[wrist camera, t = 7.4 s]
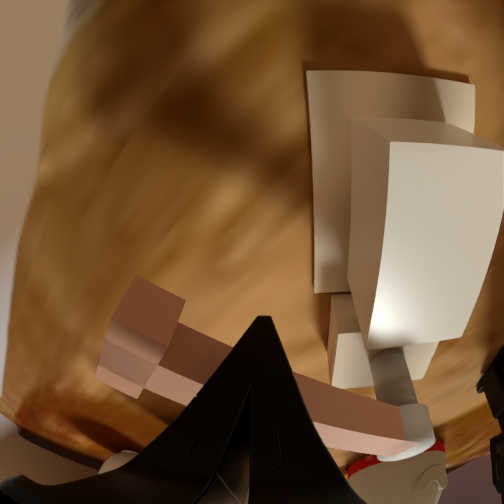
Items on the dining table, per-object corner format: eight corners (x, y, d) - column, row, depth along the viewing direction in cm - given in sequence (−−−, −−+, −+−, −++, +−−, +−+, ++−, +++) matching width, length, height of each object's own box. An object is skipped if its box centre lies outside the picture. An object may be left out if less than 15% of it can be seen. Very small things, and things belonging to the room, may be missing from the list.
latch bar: (136, 274, 9) (111, 317, 7) (444, 404, 11) (452, 434, 10) (113, 340, 10) (94, 378, 9) (390, 436, 13) (395, 465, 12)
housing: (470, 84, 10) (572, 110, 4) (423, 342, 19) (450, 424, 13) (305, 71, 11) (331, 63, 5) (311, 353, 20) (316, 445, 14)
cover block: (445, 122, 11) (513, 152, 7) (426, 271, 15) (461, 336, 11) (350, 117, 12) (389, 141, 7) (346, 276, 16) (365, 350, 11)
